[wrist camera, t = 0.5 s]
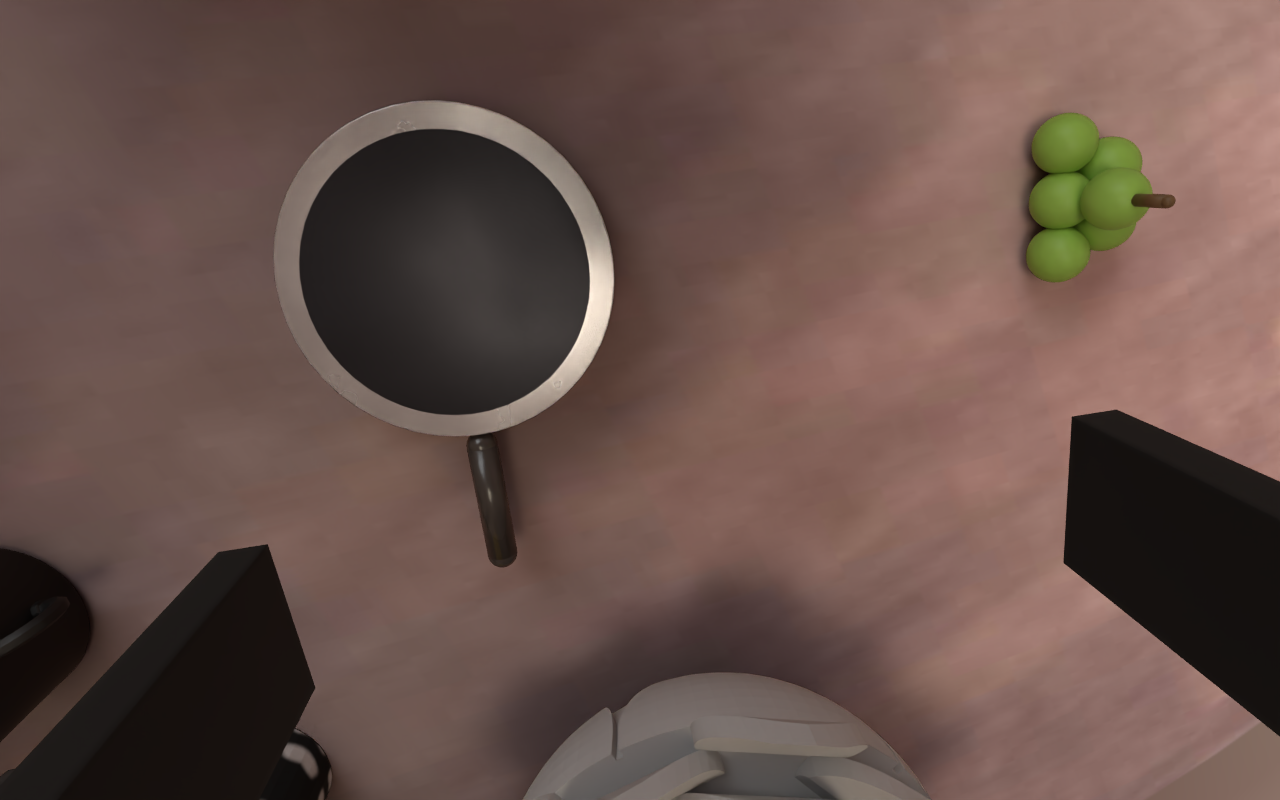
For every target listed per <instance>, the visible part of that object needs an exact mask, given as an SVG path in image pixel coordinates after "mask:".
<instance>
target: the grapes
mask: <svg viewBox="0 0 1280 800" xmlns="http://www.w3.org/2000/svg"><path fill="white" fill-rule="evenodd" d="M1032 156H1033V159H1034V161H1035V163H1036V164H1037V165H1038V167H1040V168H1041V169H1042V170H1044V171H1045V172H1048V173H1050V174H1049V175H1047V176H1046V177H1044V178H1043V179H1041V180H1040V181H1039V182H1038V183H1037V184H1036V185H1035V187H1034V188H1033V190H1032V192H1031V194H1030V198H1029V210H1030V213H1031V216H1032V217H1033V219H1034V220H1035V221H1036V222H1037V223H1038V224H1040V225H1041V226H1043V227H1045V228H1047V229H1044V230H1042V231H1041V232H1039V233H1038V234H1037V235H1036V236H1035V237H1034V238H1033V239H1032V240H1031V242H1030V243H1029V245H1028V248H1027V252H1026V262H1027V265H1028V267H1029V269H1030V271H1031V272H1032V273H1033V274H1034V275H1035V276H1036V277H1038V278H1039V279H1041V280H1044V281H1047V282H1063V281H1066V280H1069V279H1071V278H1073V277H1075V276H1077V275H1078V274H1079V273H1080V272H1081V271H1082V270H1083V269H1084V268H1085V266H1086V265H1087V263H1088V261H1089V258H1090V250H1094V251H1104V250H1109V249H1112V248H1115V247H1117V246H1119V245H1121V244H1122V243H1124V242H1125V241H1126V240H1127V239H1128V238H1129V237H1130V236H1131V234H1132V233H1133V231H1134V229H1135V226H1136V222H1137V221H1139V220H1140V219H1141V218H1142V217H1143V216H1144V215H1145V213H1146V212H1147V211H1148V209H1149V207H1150V208H1170V207H1172V206H1173V205H1174V204H1175V197H1174V196H1172V195H1165V194H1153V193H1152V187H1151V184H1150V182H1149V180H1148V179H1147V178H1146V177H1145V176H1144V175H1143V174H1142V173H1140V172H1141V168H1142V156H1141V153H1140V151H1139V149H1138V147H1137V146H1136V145H1135V144H1134V143H1133V142H1131V141H1129V140H1127V139H1125V138H1121V137H1106V138H1102V139H1099V133H1098V129H1097V127H1096V125H1095V124H1094V122H1093V121H1092V120H1091V119H1089V118H1088V117H1086V116H1084V115H1082V114H1078V113H1064V114H1060V115H1057V116H1055V117H1053V118H1051V119H1049V120H1048V121H1046V122H1045V123H1044V124H1043V125H1042V126H1041V127H1040V128H1039V130H1038V131H1037V132H1036V134H1035V136H1034V139H1033V142H1032Z"/></svg>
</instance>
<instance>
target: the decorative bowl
mask: <svg viewBox="0 0 1280 800" xmlns="http://www.w3.org/2000/svg"><path fill="white" fill-rule="evenodd" d="M523 800H931V798H930V796H929V795H928V793H927V791H926V790H925V788H924V787H923V785H922V784H921V782H920V781H919V779H918V778H917V777H916V775H915V774H914V773H913V772H912V770H911V769H910V768H909V766H908V765H907V764H906V763H905V762H904V760H903V759H902V758H901V757H900V756H899V755H898V754H897V753H896V751H895V750H894V749H893V748H892V747H891V746H890V745H889V744H888V743H887V742H886V741H885V740H884V739H883V738H882V737H881V736H880V735H878V734H877V733H876V732H875V731H874V730H873V729H871V728H870V727H869V726H868V725H867V724H865V723H864V722H863V721H862V720H860V719H859V718H858V717H856V716H855V715H853V714H852V713H850V712H849V711H847V710H846V709H844V708H843V707H841V706H839V705H838V704H836V703H834V702H833V701H831V700H829V699H827V698H825V697H823V696H821V695H819V694H817V693H815V692H813V691H811V690H808V689H806V688H803V687H801V686H798V685H795V684H792V683H789V682H785V681H782V680H778V679H775V678H770V677H766V676H761V675H754V674H747V673H732V672H713V673H700V674H692V675H686V676H681V677H677V678H672V679H668V680H664V681H661V682H658V683H655V684H652V685H650V686H648V687H647V688H645V689H643V690H641V691H640V692H639V693H637V694H636V695H635V696H634V697H633V698H632V699H631V700H630V701H629V703H628V704H627V705H626V706H625V707H623V708H621V709H619V710H617V711H616V712H614V713H613V714H612V713H611V711H610V709H608V708H604V709H602V710H601V711H599V712H598V713H597V714H595V715H594V716H593V717H592V718H590V719H589V720H588V721H586V722H585V723H584V724H583V725H581V726H580V727H579V728H578V729H577V730H576V731H575V732H574V733H573V734H571V735H570V736H569V737H568V738H567V739H566V740H565V741H564V743H563V744H562V745H561V746H560V747H559V748H558V749H557V750H556V751H555V753H554V754H553V755H552V756H551V757H550V759H549V760H548V761H547V762H546V764H545V765H544V766H543V768H542V769H541V771H540V772H539V774H538V775H537V777H536V778H535V780H534V781H533V783H532V784H531V786H530V787H529V789H528V791H527V793H526V795H525V796H524V798H523Z"/></svg>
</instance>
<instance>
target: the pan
mask: <svg viewBox="0 0 1280 800" xmlns="http://www.w3.org/2000/svg"><path fill="white" fill-rule="evenodd" d="M273 261H274V277H275V283H276V288H277V293H278V298H279V302H280V305H281V308H282V311H283V314H284V317H285V320H286V323H287V325H288V327H289V329H290V331H291V333H292V335H293V337H294V339H295V341H296V343H297V345H298V346H299V348H300V349H301V351H302V352H303V354H304V355H305V357H306V359H307V360H308V362H309V363H310V364H311V365H312V366H313V368H314V369H315V370H316V371H317V372H318V374H319V375H320V376H321V377H322V378H323V379H324V380H325V381H326V382H327V383H328V384H329V385H330V386H331V387H332V388H333V389H334V390H335V391H336V392H338V393H339V394H340V395H341V396H343V397H344V398H345V399H347V400H348V401H349V402H351V403H352V404H353V405H355V406H356V407H358V408H360V409H361V410H363V411H365V412H367V413H368V414H370V415H372V416H373V417H375V418H378V419H380V420H382V421H385V422H387V423H389V424H392V425H394V426H397V427H400V428H404V429H407V430H410V431H414V432H418V433H424V434H430V435H436V436H455V437H459V436H469V438H468V440H467V445H466V446H467V452H468V457H469V462H470V467H471V472H472V477H473V482H474V487H475V492H476V497H477V502H478V507H479V512H480V518H481V523H482V528H483V533H484V538H485V543H486V548H487V553H488V557H489V560H490V562H491V563H492V564H493V565H495V566H497V567H507V566H509V565H511V564H512V563H513V562H514V561H515V559H516V557H517V546H516V541H515V535H514V530H513V524H512V519H511V514H510V508H509V503H508V497H507V492H506V486H505V481H504V475H503V470H502V465H501V459H500V454H499V448H498V443H497V439H496V437H495V436H494V435H493V434H492V433H491V432H497V431H500V430H503V429H506V428H509V427H512V426H515V425H518V424H520V423H522V422H524V421H526V420H528V419H531V418H533V417H535V416H536V415H538V414H540V413H541V412H543V411H544V410H546V409H547V408H549V407H550V406H552V405H553V404H554V403H556V402H557V401H558V400H559V399H560V398H561V397H563V396H564V395H565V394H566V393H567V392H568V391H569V390H570V389H571V388H572V387H573V386H574V385H575V384H576V383H577V381H578V380H579V379H580V378H581V377H582V375H583V374H584V373H585V371H586V370H587V368H588V367H589V365H590V364H591V362H592V361H593V359H594V357H595V355H596V353H597V351H598V349H599V347H600V345H601V343H602V341H603V338H604V335H605V332H606V329H607V327H608V324H609V320H610V315H611V310H612V305H613V297H614V283H615V278H614V260H613V254H612V249H611V244H610V238H609V235H608V232H607V229H606V226H605V223H604V220H603V217H602V214H601V212H600V210H599V208H598V206H597V204H596V202H595V200H594V197H593V195H592V194H591V192H590V191H589V189H588V188H587V186H586V184H585V183H584V181H583V180H582V178H581V177H580V175H579V174H578V173H577V172H576V171H575V169H574V168H573V167H572V166H571V164H570V163H569V162H568V161H567V160H566V158H565V157H563V156H562V155H561V154H560V153H559V152H558V151H557V150H556V149H555V148H554V147H553V146H552V145H551V144H550V143H548V142H547V141H546V140H544V139H543V138H542V137H540V136H539V135H538V134H536V133H535V132H533V131H532V130H531V129H529V128H528V127H526V126H524V125H522V124H520V123H518V122H516V121H515V120H513V119H511V118H509V117H507V116H505V115H502V114H499V113H497V112H494V111H491V110H489V109H486V108H483V107H479V106H475V105H470V104H466V103H462V102H452V101H442V100H426V101H411V102H405V103H400V104H395V105H390V106H387V107H384V108H381V109H378V110H375V111H372V112H369V113H367V114H365V115H363V116H361V117H359V118H357V119H355V120H353V121H351V122H349V123H347V124H346V125H344V126H343V127H342V128H340V129H339V130H337V131H336V132H335V133H333V134H332V135H330V136H329V137H328V138H327V139H326V140H325V141H324V142H323V143H322V144H321V145H320V146H319V147H318V148H317V149H315V150H314V151H313V152H312V154H311V155H310V156H309V158H308V159H307V160H306V161H305V163H304V164H303V165H302V167H301V168H300V169H299V171H298V172H297V174H296V176H295V178H294V180H293V182H292V183H291V185H290V187H289V189H288V191H287V193H286V196H285V199H284V201H283V204H282V207H281V209H280V212H279V217H278V222H277V226H276V231H275V239H274V252H273Z"/></svg>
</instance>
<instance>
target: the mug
mask: <svg viewBox="0 0 1280 800" xmlns="http://www.w3.org/2000/svg"><path fill="white" fill-rule="evenodd" d="M89 632H90V625H89V618H88V614H87V611H86V608H85V605H84V603H83V601H82V600H81V598H80V596H79V594H78V593H77V592H76V590H75V589H74V588H73V586H72V585H71V584H70V583H69V582H68V581H67V580H66V579H65V578H64V577H63V576H62V575H61V574H59V573H58V572H57V571H55V570H54V569H53V568H52V567H50V566H48V565H46V564H45V563H43V562H41V561H39V560H37V559H35V558H33V557H31V556H28V555H26V554H23V553H19V552H16V551H12V550H7V549H1V548H0V742H1V741H2V740H3V739H4V738H5V737H6V736H7V735H8V734H9V733H10V732H11V731H12V730H13V729H14V728H15V727H16V726H17V725H18V724H19V723H20V722H21V721H22V720H23V719H24V718H25V717H26V716H27V715H28V714H29V713H30V712H31V711H32V710H33V709H34V708H35V707H36V706H37V705H38V704H39V703H40V702H41V701H42V700H43V699H44V698H45V697H46V696H47V695H48V694H49V693H50V692H51V691H52V690H53V689H54V688H56V687H57V686H58V685H59V684H60V683H61V682H62V681H63V680H64V679H65V678H66V677H67V676H68V675H69V674H70V673H71V672H72V671H73V670H74V669H75V667H76V666H77V665H78V664H79V662H80V661H81V659H82V657H83V655H84V653H85V651H86V647H87V644H88V640H89Z"/></svg>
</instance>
